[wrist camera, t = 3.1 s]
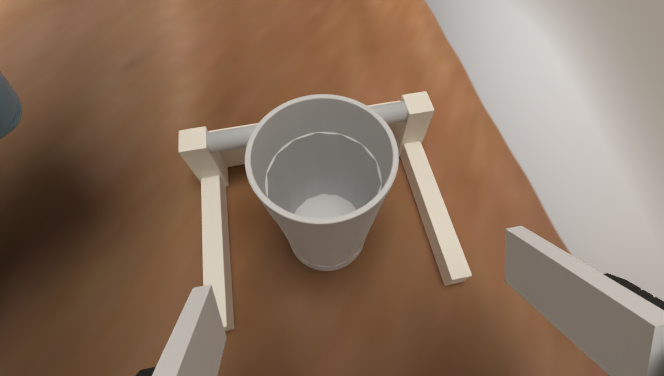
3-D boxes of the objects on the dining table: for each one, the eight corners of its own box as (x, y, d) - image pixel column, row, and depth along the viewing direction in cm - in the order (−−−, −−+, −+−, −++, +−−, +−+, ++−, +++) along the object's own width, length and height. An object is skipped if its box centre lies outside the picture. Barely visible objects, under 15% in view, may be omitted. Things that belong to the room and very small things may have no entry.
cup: (332, 174, 31) (330, 72, 20) (395, 237, 28) (431, 158, 18) (259, 228, 29) (214, 145, 18) (320, 303, 26) (310, 258, 15)
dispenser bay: (466, 281, 27) (498, 259, 21) (210, 334, 25) (176, 325, 20) (405, 119, 34) (418, 73, 29) (204, 152, 32) (179, 110, 27)
